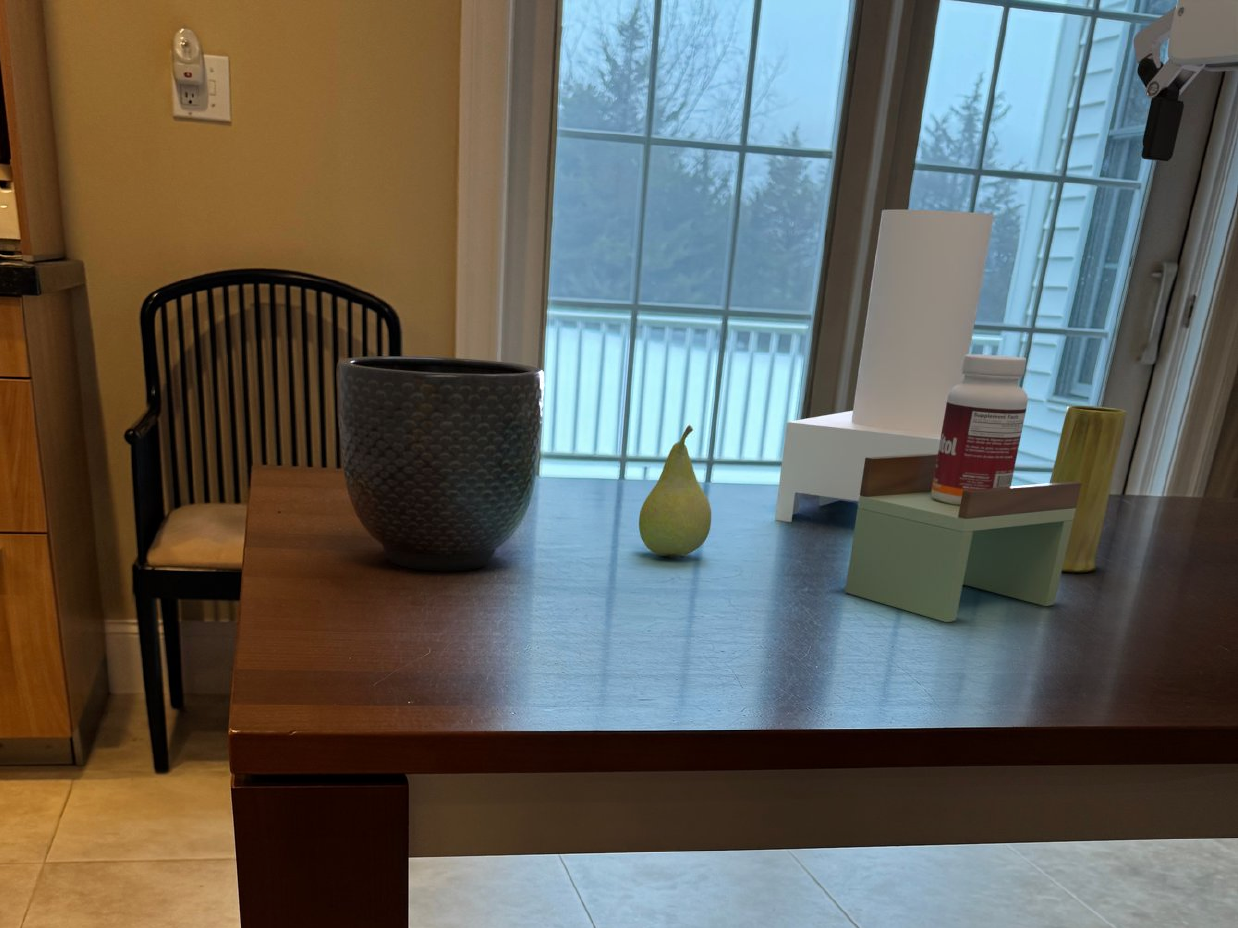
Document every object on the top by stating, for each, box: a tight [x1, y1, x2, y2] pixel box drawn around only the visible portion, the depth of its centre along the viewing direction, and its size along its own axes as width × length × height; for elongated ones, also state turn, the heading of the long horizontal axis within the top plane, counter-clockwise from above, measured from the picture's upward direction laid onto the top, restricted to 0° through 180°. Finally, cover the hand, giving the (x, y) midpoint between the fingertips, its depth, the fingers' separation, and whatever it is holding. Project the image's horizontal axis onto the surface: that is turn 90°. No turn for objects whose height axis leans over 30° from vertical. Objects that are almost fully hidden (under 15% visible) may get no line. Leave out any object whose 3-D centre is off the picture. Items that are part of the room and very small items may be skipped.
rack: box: [844, 453, 1082, 623], centre depth 108 cm, size 11×14×11 cm
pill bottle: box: [931, 353, 1029, 505], centre depth 104 cm, size 6×6×11 cm
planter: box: [336, 355, 545, 572], centre depth 110 cm, size 17×17×16 cm
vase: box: [1049, 405, 1128, 574], centre depth 122 cm, size 6×6×14 cm
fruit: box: [638, 424, 712, 559], centre depth 117 cm, size 7×8×12 cm
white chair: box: [774, 209, 995, 523], centre depth 136 cm, size 19×19×30 cm
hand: (1214, 158), depth 97 cm, fingers open, 9 cm apart
